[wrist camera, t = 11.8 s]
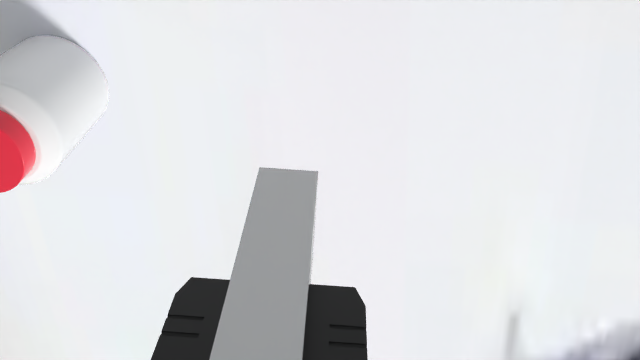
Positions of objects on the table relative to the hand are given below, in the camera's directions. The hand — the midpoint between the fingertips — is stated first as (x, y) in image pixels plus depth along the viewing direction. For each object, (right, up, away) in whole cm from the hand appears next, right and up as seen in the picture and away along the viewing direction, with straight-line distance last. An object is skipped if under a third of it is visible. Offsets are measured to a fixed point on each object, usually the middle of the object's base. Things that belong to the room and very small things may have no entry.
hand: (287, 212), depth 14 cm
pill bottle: (-19, +8, +27) cm, 34 cm away
